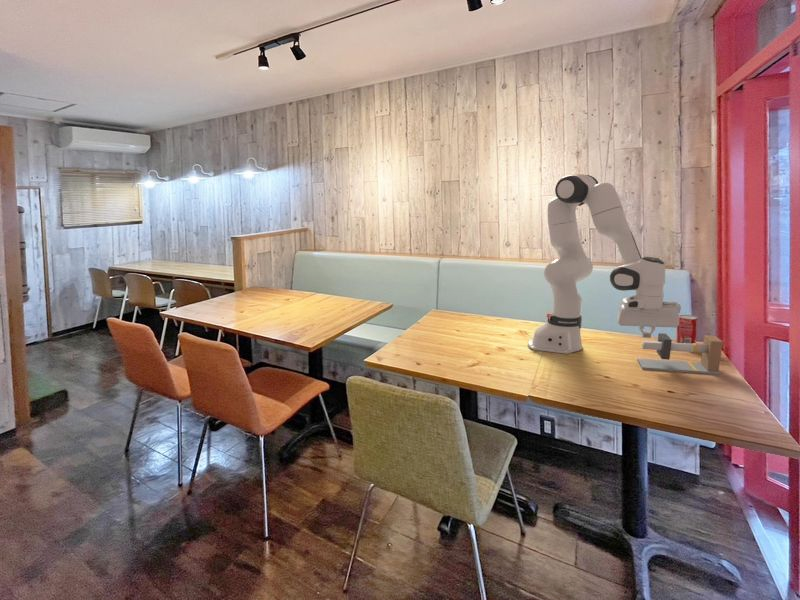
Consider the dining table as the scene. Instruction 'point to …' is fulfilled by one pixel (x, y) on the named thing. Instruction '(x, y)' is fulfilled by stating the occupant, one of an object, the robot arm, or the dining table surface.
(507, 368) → the dining table surface
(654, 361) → the pipe stand
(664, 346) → the grey rectangular frame
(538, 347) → the robot arm
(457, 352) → the dining table surface
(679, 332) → the soda can
